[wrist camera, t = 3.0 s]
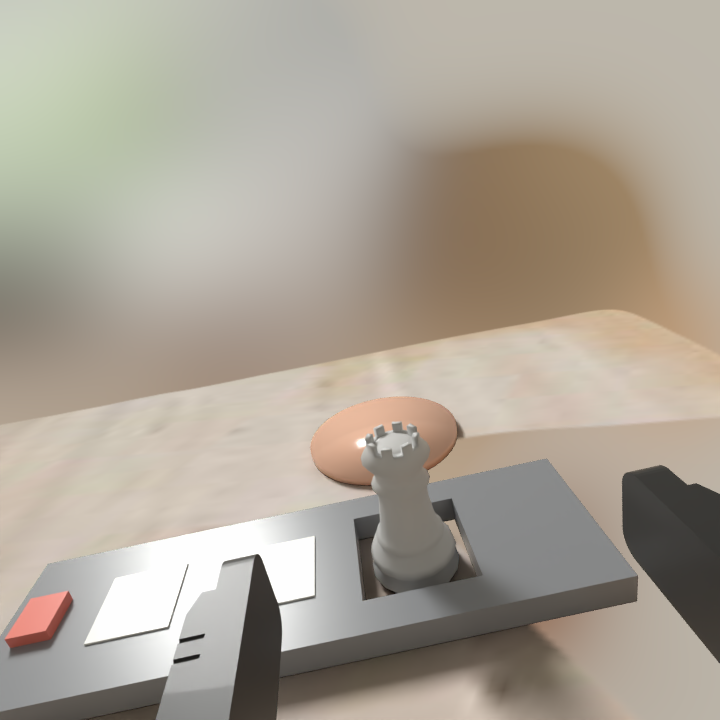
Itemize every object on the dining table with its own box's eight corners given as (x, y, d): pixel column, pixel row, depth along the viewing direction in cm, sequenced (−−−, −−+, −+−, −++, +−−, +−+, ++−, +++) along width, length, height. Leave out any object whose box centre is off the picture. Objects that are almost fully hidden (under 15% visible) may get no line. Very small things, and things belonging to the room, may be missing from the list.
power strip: (-40, 745, 22) (-65, 714, 21) (58, 582, 30) (43, 556, 29) (636, 601, 22) (638, 565, 21) (547, 479, 30) (546, 449, 29)
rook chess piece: (360, 590, 25) (326, 458, 22) (393, 529, 29) (368, 408, 26) (445, 613, 23) (421, 470, 20) (470, 543, 27) (452, 414, 24)
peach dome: (386, 506, 31) (385, 498, 30) (283, 454, 38) (281, 447, 38) (487, 423, 37) (486, 415, 37) (381, 392, 45) (380, 386, 45)
